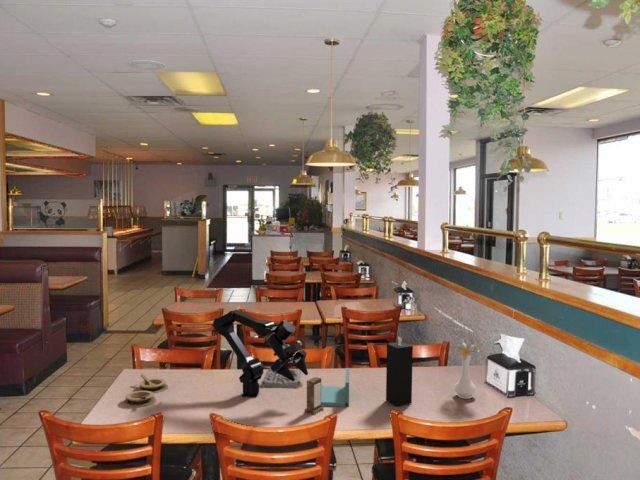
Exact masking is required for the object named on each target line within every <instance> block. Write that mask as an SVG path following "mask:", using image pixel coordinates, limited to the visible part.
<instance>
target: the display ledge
mask: <svg viewBox="0 0 640 480" xmlns="http://www.w3.org/2000/svg"><path fill="white" fill-rule="evenodd" d="M344 382H345V384H344V385H345V386H341V385H340V386H337V385H335V386H334V385H333V386H332V385H321V407H347V408H348V407H349V406H350V367H346V368H345V381H344Z"/></svg>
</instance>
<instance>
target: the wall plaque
mask: <svg viewBox="0 0 640 480" xmlns="http://www.w3.org/2000/svg"><path fill="white" fill-rule="evenodd" d="M289 370H290V372H291V373H292V375H293V377H294V379H295V380H294V381H292V380H290V379H288V378H286V377H284V376H282V375H280V374H278V373H276V372H274V373H273V372H272V370H271V367H270V368H268V369H267V370H266V371H267V372H266V374H265V376H264V379H263V380H261V382H260V385H261V387H263V388H277V387H278V388H279V387H281V388H282V389H283V388H285V389H286V388H288V389H291V388H292V389H293V388H295V387H300V388H302V387H303V385H304V383H303V382H302V381H301V379H300V378H301V374H302V371H300V370H299V369H298V368H296V369H295V368H294V369H293V368H289ZM279 389H280V388H279Z"/></svg>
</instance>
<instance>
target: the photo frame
mask: <svg viewBox="0 0 640 480" xmlns="http://www.w3.org/2000/svg"><path fill="white" fill-rule="evenodd" d="M321 386H322V378H321V377H317V376H314V377H312V378H310V379H307V380H306V408H304V413H306V412H307V413H306V414H310V413H311V414H310V415H314V414H315V415H317V414H319V413H320V411H321V412H323V411H324V406H321ZM318 412H319V413H318ZM316 413H317V414H316Z"/></svg>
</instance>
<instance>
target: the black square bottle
mask: <svg viewBox="0 0 640 480" xmlns="http://www.w3.org/2000/svg"><path fill="white" fill-rule="evenodd" d="M397 340H398V341H396V342H390V343H386V368H385V369H386V373H385V374H386V376H385V379H386V385H385V400H386V402H388V403H389V404H391V405H393V406H395V407H402V406H405V405H410V404H412V401H413V399H412V398H413V397H412V396H413V356H414V355H413V353H414V352H413V350H414V348H413V347H414V346H413V345H411V344H409V343H406V342H404V341H403V339H402V337H400V335H399V336H397Z"/></svg>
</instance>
